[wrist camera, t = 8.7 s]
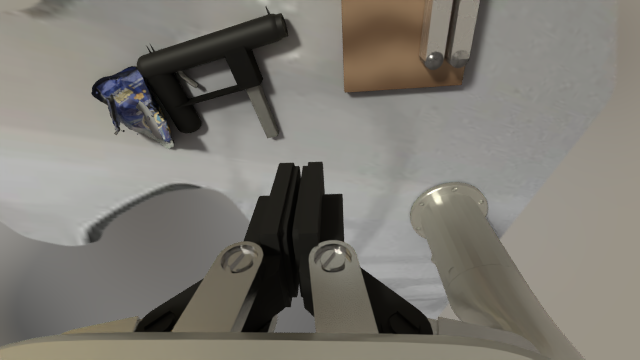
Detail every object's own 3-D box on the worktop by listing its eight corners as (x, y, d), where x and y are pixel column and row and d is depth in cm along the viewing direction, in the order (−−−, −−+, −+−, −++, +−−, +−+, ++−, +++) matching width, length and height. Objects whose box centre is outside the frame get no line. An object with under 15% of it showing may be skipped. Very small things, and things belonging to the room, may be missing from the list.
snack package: (116, 141, 48) (190, 149, 48) (85, 154, 42) (169, 164, 42) (100, 59, 43) (183, 68, 43) (63, 61, 37) (159, 72, 37)
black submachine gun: (316, 128, 43) (275, 2, 33) (190, 159, 46) (121, 53, 37) (316, 118, 45) (279, -2, 36) (197, 148, 49) (135, 46, 39)
